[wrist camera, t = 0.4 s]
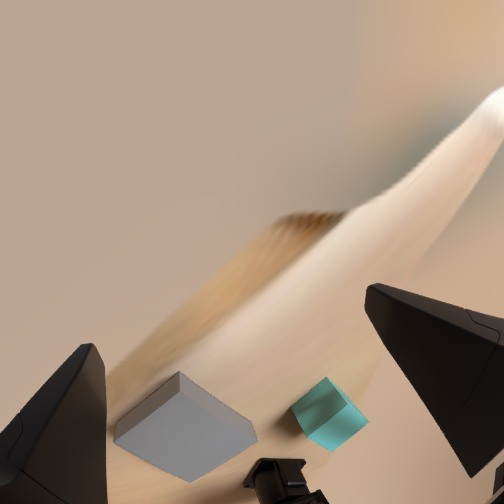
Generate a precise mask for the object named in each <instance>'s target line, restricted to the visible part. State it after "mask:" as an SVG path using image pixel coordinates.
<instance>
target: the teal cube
mask: <svg viewBox="0 0 504 504" xmlns="http://www.w3.org/2000/svg"><path fill="white" fill-rule="evenodd" d="M291 409H292V411H293V413H294V415H295V417H296V418H297V420H298V422H299V424H300V426H301V428H302V430H303V431H304V433H305V435H306V437H307V438H309V439H310V440H312V441H314V442H315V443H317V444H319V445H321V446H322V447H324V448H326V449H328V450H329V451H331V452H332V451H334V450H335V449H336V448H338V447H339V446H340V445H342V444H343V443H344V442H345V441H347V440H348V439H349V438H351V437H352V436H353V435H354V434H355V433H357V432H358V431H359V430H360V429H362V427H364V426H365V425H366V424H367V423H368V422H369V421H368V420H367V419H366V418H365V417H364V415H363V414H362V413H361V412H360V410H359V409H358V408H357V407H356V406H355V404H354V403H353V402H352V401H351V399H350V398H349V397H348V396H347V395H346V394H345V393H344V392H343V391H342V390H340V389H339V388H338V387H337V386H336V385H335V384H334V383H333V382H332V381H331V380H330V379H328V378H327V377H326V378H324V379H323V380H322V381H321V382H320V383H319V384H317V385H316V386H315V387H314V388H313V389H312V390H310V391H309V392H308V393H307V394H306V395H304V396H303V397H302V398H301V399H299V400H298V401H297V402H296V403H294V404H293V405H292V406H291Z"/></svg>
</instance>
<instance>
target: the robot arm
mask: <svg viewBox="0 0 504 504" xmlns="http://www.w3.org/2000/svg"><path fill="white" fill-rule="evenodd" d="M364 307H365V312H366V314H367V315H368V317H369V319H370V321H371V322H372V324H373V326H374V328H375V329H376V331H377V333H378V335H379V337H380V338H381V340H382V342H383V344H384V345H385V347H386V348H387V350H388V351H389V353H390V354H391V355H392V357H393V358H394V360H395V361H396V362H397V364H398V365H399V367H400V368H401V370H402V371H403V373H404V374H405V376H406V377H407V379H408V380H409V381H410V383H411V384H412V386H413V387H414V389H415V390H416V392H417V393H418V395H419V396H420V398H421V400H422V401H423V402H424V404H425V406H426V407H427V409H428V410H429V412H430V413H431V415H432V416H433V418H434V419H435V421H436V423H437V424H438V426H439V427H440V429H441V431H442V432H443V433H444V436H445V437H446V439H447V440H448V442H449V444H450V445H451V447H452V449H453V450H454V452H455V453H456V455H457V457H458V458H459V460H460V462H461V463H462V465H463V467H464V468H465V470H466V472H467V474H468V475H469V477H470V478H472V477H474V476H475V475H476V474H477V473H478V472H479V471H480V470H482V469H483V468H484V467H485V466H486V465H487V464H488V463H489V462H491V461H492V460H493V459H494V458H495V457H496V456H497V455H498V454H499V453H500V452H501V451H502V450H503V449H504V319H503V318H498V317H495V316H490V315H486V314H482V313H479V312H476V311H472V310H469V309H464V308H462V307H458V306H455V305H452V304H448V303H445V302H442V301H438V300H435V299H432V298H428V297H425V296H422V295H418V294H415V293H411V292H408V291H405V290H401V289H398V288H394V287H391V286H388V285H384V284H381V283H375V284H372V285H369V286H368V287H367V290H366V297H365V305H364ZM106 420H107V404H106V386H105V366H104V363H103V361H102V359H101V357H100V355H99V353H98V351H97V349H96V347H95V345H94V344H92V343H88V344H82V345H80V346H79V348H77V349H76V350H75V352H73V354H72V355H71V356H70V357H69V358H68V359H67V360H66V361H65V362H64V363H63V364H62V365H61V366H60V367H59V368H58V370H57V371H56V372H55V373H54V374H53V375H52V376H51V377H50V378H49V379H48V380H47V381H46V382H45V384H44V385H43V386H42V387H41V388H40V389H39V390H38V391H37V392H36V393H35V395H34V396H33V397H32V398H31V399H30V400H29V401H28V402H27V404H26V405H25V406H24V407H23V408H22V409H21V411H20V413H18V414H17V415H16V416H15V417H14V419H13V420H12V421H11V422H10V423H9V424H8V425H7V427H6V428H5V429H4V430H3V431H2V432H1V433H0V504H108V499H107V481H106ZM305 464H306V461H305V460H304V459H266V458H264V459H261V460H259V462H258V463H257V465H256V466H255V468H254V469H253V471H252V472H251V474H250V475H249V476H248V478H247V479H246V481H245V482H244V484H243V486H244V488H255V490H256V494H257V497H258V500H259V503H260V504H329V502H328V501H327V499H326V498H325V496H324V495H323V493H322V491H321V490H320V489H319V490H316V492H313V493H310V491H309V489H308V487H307V485H306V483H307V482H306V480H305V478H304V476H303V474H302V471H301V469H302V468H303V467H304V465H305ZM485 504H504V462H503V463H502V464H501V465H500V466H499V467H498V468H497V469H496V474H495V482H494V489H493V496H492V497H491V498H490V499H489V500H488V501H487V502H486V503H485Z"/></svg>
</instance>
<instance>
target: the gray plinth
mask: <svg viewBox="0 0 504 504" xmlns="http://www.w3.org/2000/svg"><path fill="white" fill-rule="evenodd" d="M257 441H258V439H257V436H256V433H255V430H254V427H253V424H252V422H251V421H250V420H248V419H247V418H245V417H244V416H242V415H241V414H239V413H237V412H236V411H234V410H233V409H231V408H230V407H228V406H227V405H225V404H224V403H222V402H221V401H220V400H218V399H217V398H215V397H214V396H212V395H211V394H209V393H208V392H207V391H205V390H204V389H203V388H201V387H200V386H198V385H197V384H196V383H194V382H193V381H192V380H190V379H189V378H188V377H186V376H185V375H184V374H182V373H181V372H180V371H179V372H178V373H177V374H176V375H174V376H173V377H172V378H171V379H170V380H169V381H167V382H166V383H165V384H164V385H163V386H161V387H160V388H159V389H158V390H156V391H155V392H154V393H153V394H152V395H150V396H149V397H148V398H147V399H146V400H144V401H143V402H142V403H141V404H139V405H138V406H137V407H136V408H134V409H133V410H132V411H131V412H129V413H128V414H127V415H126V416H124V417H123V418H122V419H121V420H119V421H118V422H117V424H116V429H115V435H114V440H113V442H114V443H115V444H117V445H118V446H120V447H122V448H123V449H125V450H127V451H128V452H130V453H132V454H134V455H135V456H137V457H139V458H141V459H143V460H144V461H146V462H148V463H150V464H152V465H154V466H156V467H158V468H160V469H162V470H164V471H166V472H168V473H170V474H172V475H174V476H176V477H178V478H181V479H183V480H185V481H187V482H189V483H190V482H192V481H194V480H196V479H198V478H199V477H201V476H203V475H205V474H206V473H208V472H210V471H212V470H213V469H215V468H217V467H218V466H220V465H222V464H223V463H225V462H227V461H228V460H230V459H231V458H233V457H234V456H236V455H238V454H239V453H241V452H242V451H244V450H245V449H247V448H248V447H250V446H251V445H253V444H254V443H256V442H257Z"/></svg>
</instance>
